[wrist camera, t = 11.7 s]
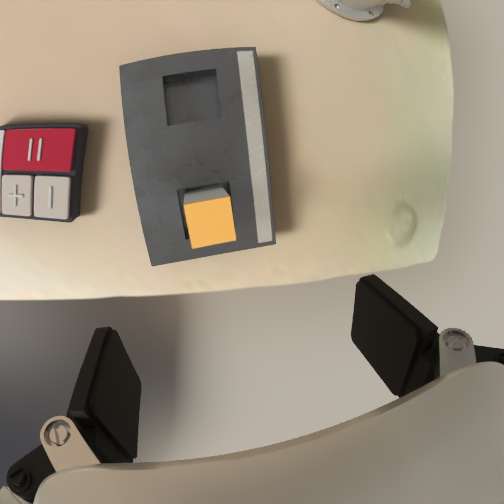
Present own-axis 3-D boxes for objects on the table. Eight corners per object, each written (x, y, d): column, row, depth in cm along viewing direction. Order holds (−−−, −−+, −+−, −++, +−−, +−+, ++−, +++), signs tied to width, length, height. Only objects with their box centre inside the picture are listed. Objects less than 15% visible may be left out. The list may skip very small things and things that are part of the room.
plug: (220, 184, 31) (229, 196, 24) (225, 217, 33) (236, 240, 25) (185, 190, 31) (183, 205, 23) (191, 224, 32) (192, 248, 25)
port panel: (248, 56, 27) (255, 46, 23) (267, 234, 35) (276, 244, 32) (126, 73, 24) (119, 65, 21) (154, 254, 33) (151, 266, 30)
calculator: (70, 225, 26) (-23, 216, 21) (81, 215, 30) (-7, 208, 25) (79, 123, 23) (-20, 128, 18) (91, 125, 26) (-3, 127, 22)
